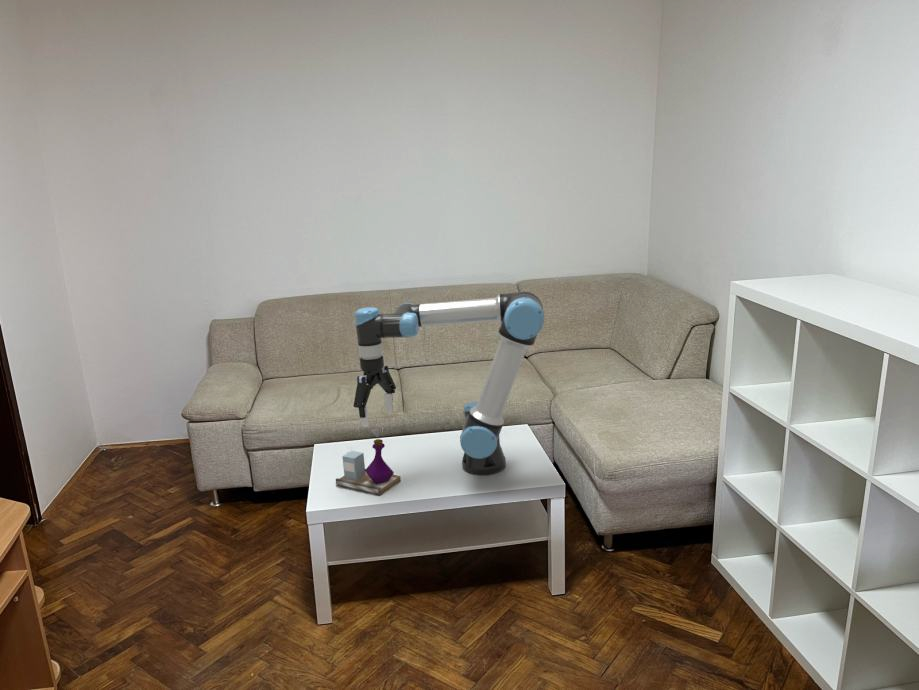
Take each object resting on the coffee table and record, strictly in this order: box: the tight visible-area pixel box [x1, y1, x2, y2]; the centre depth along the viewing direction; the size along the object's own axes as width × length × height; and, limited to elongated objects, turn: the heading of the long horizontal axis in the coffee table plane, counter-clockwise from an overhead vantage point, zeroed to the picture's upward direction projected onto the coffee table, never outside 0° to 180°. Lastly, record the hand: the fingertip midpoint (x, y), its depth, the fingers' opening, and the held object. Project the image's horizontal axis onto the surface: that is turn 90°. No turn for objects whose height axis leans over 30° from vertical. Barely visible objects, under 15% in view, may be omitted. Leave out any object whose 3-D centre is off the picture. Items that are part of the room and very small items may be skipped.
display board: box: [335, 468, 401, 497], centre depth 241 cm, size 18×12×3 cm, turn 60°
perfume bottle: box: [365, 428, 395, 484], centre depth 236 cm, size 8×8×18 cm
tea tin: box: [341, 450, 366, 481], centre depth 242 cm, size 5×5×8 cm
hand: (377, 419), depth 234 cm, fingers open, 13 cm apart
